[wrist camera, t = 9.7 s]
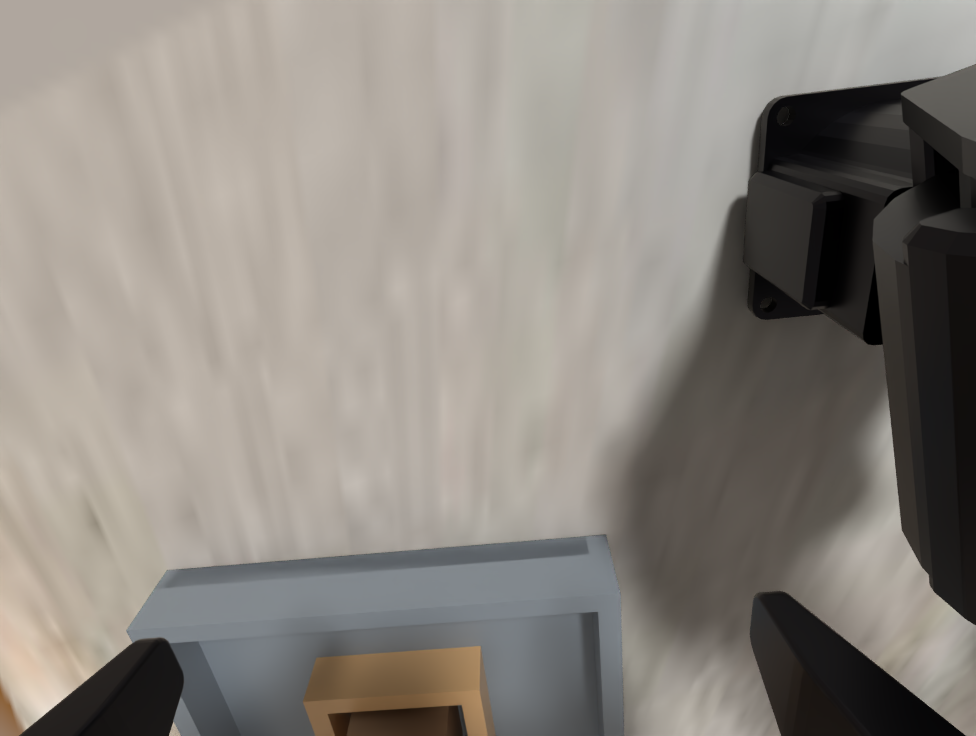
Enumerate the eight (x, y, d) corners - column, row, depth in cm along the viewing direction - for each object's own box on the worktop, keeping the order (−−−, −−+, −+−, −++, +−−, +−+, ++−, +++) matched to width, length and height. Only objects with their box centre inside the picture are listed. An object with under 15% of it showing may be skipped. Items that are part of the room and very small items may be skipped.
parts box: (606, 534, 24) (620, 593, 21) (615, 779, 30) (627, 847, 28) (166, 570, 25) (126, 630, 22) (270, 799, 31) (249, 866, 29)
